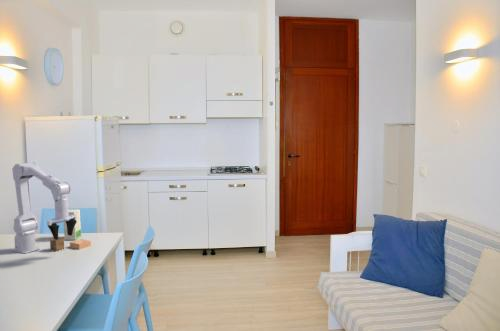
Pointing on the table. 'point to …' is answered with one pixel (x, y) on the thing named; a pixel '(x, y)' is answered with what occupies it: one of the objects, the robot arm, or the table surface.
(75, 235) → the skincare box
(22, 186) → the robot arm
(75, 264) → the table surface
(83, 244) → the terracotta block
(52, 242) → the walnut block
